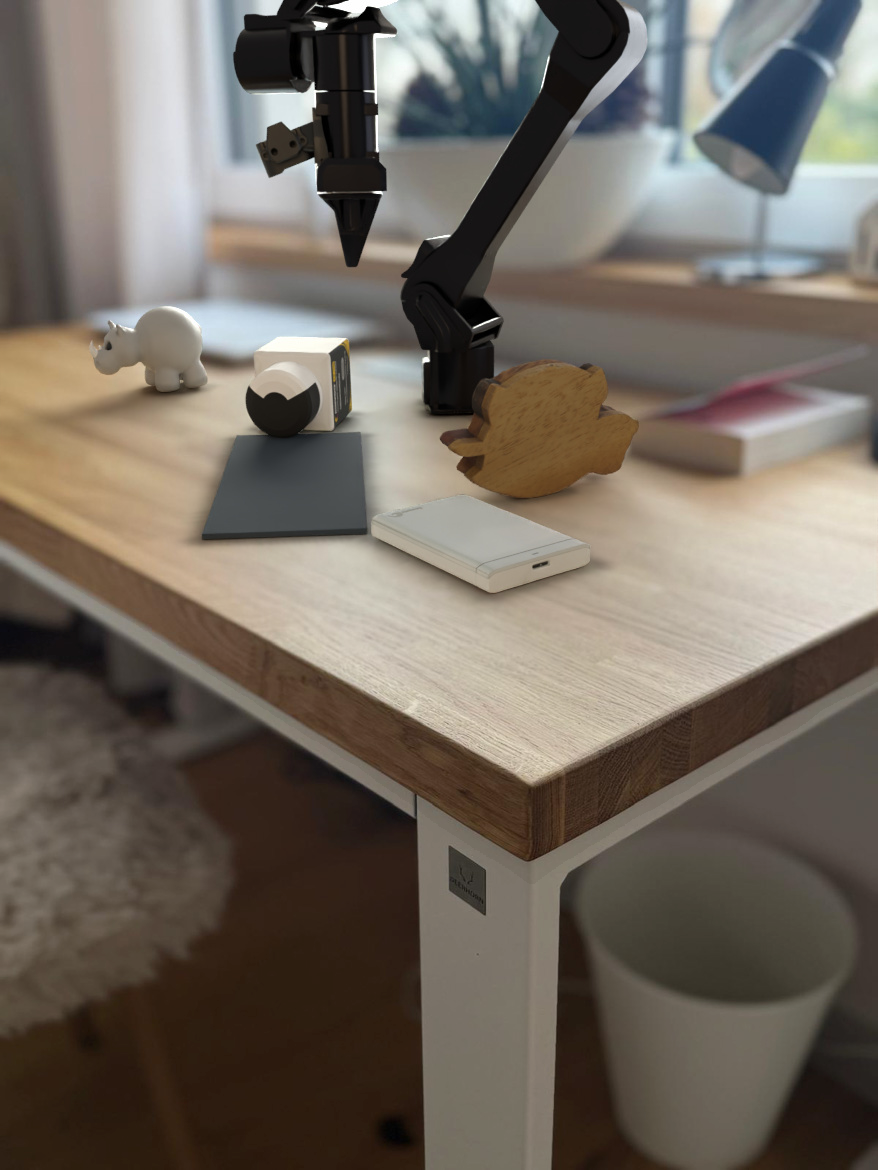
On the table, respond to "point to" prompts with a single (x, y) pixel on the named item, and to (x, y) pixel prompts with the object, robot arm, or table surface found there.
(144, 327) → the chubby cartoon animal
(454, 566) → the hard drive
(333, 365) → the medicine bottle
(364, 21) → the robot arm
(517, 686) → the table surface
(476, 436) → the wooden carving
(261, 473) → the slate mat
